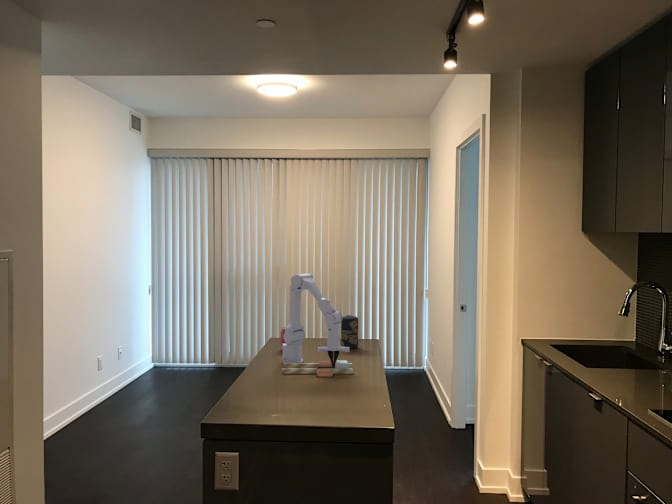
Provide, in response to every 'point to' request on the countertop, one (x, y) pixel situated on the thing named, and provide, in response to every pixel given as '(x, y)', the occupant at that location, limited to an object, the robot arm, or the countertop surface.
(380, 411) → the countertop surface
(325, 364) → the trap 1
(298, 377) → the countertop surface
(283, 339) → the soda can
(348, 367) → the track
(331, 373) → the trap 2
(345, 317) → the canister
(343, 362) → the block
